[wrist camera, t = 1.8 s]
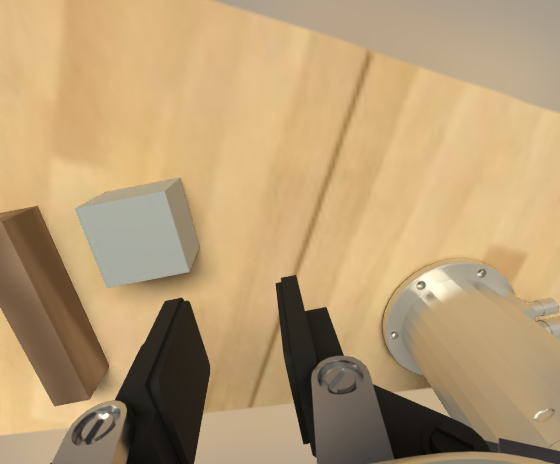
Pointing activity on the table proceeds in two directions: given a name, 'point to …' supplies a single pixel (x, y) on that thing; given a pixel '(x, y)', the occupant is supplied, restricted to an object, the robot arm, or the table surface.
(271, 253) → the table surface
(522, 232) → the table surface
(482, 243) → the table surface
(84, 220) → the block
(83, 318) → the brown wooden bar
